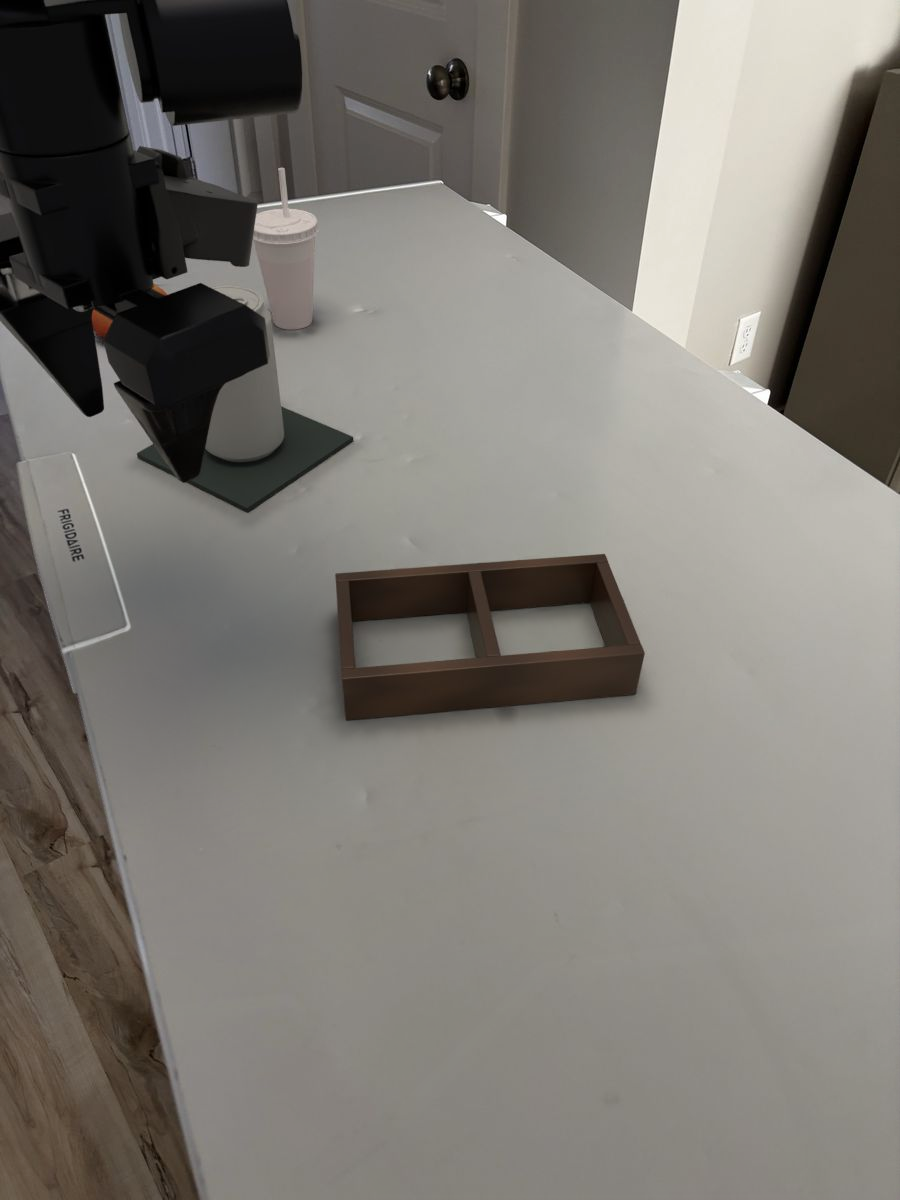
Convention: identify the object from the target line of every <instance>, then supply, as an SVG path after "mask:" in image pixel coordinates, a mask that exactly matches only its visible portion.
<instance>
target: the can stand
mask: <svg viewBox="0 0 900 1200" xmlns="http://www.w3.org/2000/svg"><path fill="white" fill-rule="evenodd" d="M334 576H335V577H334V578H335V591H336V604H337V605H336V607H337V608H336V609H337V623H338V640H339V657H340V670H341V671H340V672H341V673H340V674H341V685H342V696H343V706H344V707H343V708H344V718H345V720H346V721H351V720H352V721H353V720H364V719H376V718H386V717H387V718H388V717H398V716H408V715H409V716H410V715H420V714H421V715H422V714H430V713H431V714H432V713H441V712H451V711H452V712H453V711H463V710H476V709H486V708H497V707H507V706H508V707H509V706H519V705H521V706H522V705H530V704H540V703H541V704H542V703H552V702H553V703H554V702H563V701H564V702H565V701H573V700H585V699H596V698H607V697H618V696H620V697H621V696H631V695H636V694H637V691H638V687H639V682H640V677H641V673H642V669H643V664H644V659H645V655H646V653H645V650H644V647H643V645H642V642H641V640H640V638H639V635H638V633H637V630H636V628H635V626H634V623H633V620H632V617H631V615H630V612H629V610H628V607H627V605H626V603H625V600H624V598H623V596H622V592H621V591H620V588H619V585H618V583H617V580H616V578H615V575H614V573H613V570H612V568H611V566H610V563H609V560H608V557H607V555H606V554H605V553H598V554H597V553H596V554H585V555H569V556H556V557H555V556H554V557H544V558H543V557H542V558H528V559H515V560H502V561H489V562H488V561H487V562H475V563H474V562H473V563H472V562H471V563H460V564H447V565H446V564H445V565H433V566H419V567H418V566H417V567H406V568H405V567H404V568H392V569H391V568H390V569H378V570H366V571H364V570H363V571H350V572H339V573H337V572H336V573H335V575H334ZM578 604H590V607H591V609H592V612H593V615H594V617H595V621H596V623H597V625H598V629H599V631H600V634H601V637H602V639H603V643H604V645H605V646H601V647H588V648H578V649H577V648H575V649H567V650H566V649H565V650H553V651H542V652H529V653H517V654H516V653H515V654H505V655H504V654H503V655H501V651H500V646H499V643H498V639H497V638H498V637H497V635H496V630H495V625H494V622H493V621H494V620H493V617H492V614H491V613H492V612H491V611H501V610H512V609H513V610H514V609H526V608H538V607H551V606H552V607H553V606H565V605H578ZM464 613H466V616H467V621H468V625H469V630H470V635H471V640H472V645H473V651H474V655H475V657H470V658H469V657H468V658H459V659H447V660H433V661H422V662H421V661H420V662H411V663H410V662H409V663H399V664H387V665H376V666H373V665H372V666H362V667H356V655H355V642H354V632H353V622H360V621H374V620H375V621H376V620H386V619H399V618H410V617H411V618H412V617H424V616H438V615H450V614H464Z"/></svg>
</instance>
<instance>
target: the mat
mask: <svg viewBox="0 0 900 1200" xmlns="http://www.w3.org/2000/svg"><path fill="white" fill-rule="evenodd" d="M281 409H282V418H283V427H284V438H283V441H282V443H281V444H280V445H279V446H278V447H277V448H276V449H275V450H274V451H273V452H272V453H271V454H269V455H268V456H266V457H264V458H261V459H259V460H255V461H250V462H231V461H227V460H224V459H221V458H219V457H217V456H215V455H213V454H211V453H210V452H208V451H207V450H206V449H205V452H204V457H203V462H202V467H201V472H200V474H199V476H198V477H196V478H194V479H192V480H190V481H188V482H187V483H188V484H190V485H192V486H194V487H196V488H198V489H200V490H202V491H204V492H206V493H208V494H210V495H212V496H214V497H216V498H218V499H220V500H222V501H224V502H226V503H228V504H230V505H232V506H234V507H236V508H239V509H240V510H242V511H245V512H246V513H249V512H250V511H253V509H255V508H257V507H258V506H260V505H261V504H263V503H264V502H266V501H267V500H268V499H270V498H271V497H272V496H274V495H275V494H277V493H278V492H280V491H281V490H283V489H284V488H286V487H287V486H289V485H290V484H292V483H294V482H295V481H296V480H297V479H299V478H301V477H302V476H304V475H305V474H307V473H308V472H309V471H311V470H312V469H314V468H316V467H318V465H320V464H321V463H323V462H324V461H326V460H327V459H329V458H330V457H331V456H333V455H334V454H336V453H337V452H339V451H341V450H342V449H343V448H345V447H346V446H348V445H350V444H351V443H352V442H354V436H352V435H350V434H348V433H345V432H343V431H340V430H339V429H335V428H333V427H331V426H329V425H326V424H324V423H322V422H319V421H317V420H315V419H312V418H309V417H308V416H305V415H303V414H300V413H298V412H296V411H294V410H291V409H288V408H286V407H284V406H282V405H281ZM136 456H137V458H138V459H140V460H142V461H144V462H146V463H148V464H150V465H152V466H154V467H156V468H158V469H160V470H161V471H164V472H166V473H168V474H170V475H172V476H174V477H176V476H175V474H174V473H173V472H172V470H171V469H170V468H169V466H168V465H167V463H166V462H165V461H164V459H163V458H162V456H161V455H160V453H159V452H158V450H157V449H156V447H155V446H154V444H153V443H152V444H151V445H148V446H146V447H145V448H143V449H142V450H140V451H138V452H137V453H136Z"/></svg>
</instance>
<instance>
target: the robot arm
mask: <svg viewBox="0 0 900 1200" xmlns="http://www.w3.org/2000/svg"><path fill="white" fill-rule="evenodd" d="M290 11H291V10H290V6H289V2H288V0H0V196H2V197H4V198H6V199H7V203H8V205H9V209H10V212H7V213H3V214H0V323H1V324H2V325H3V326H4V327H5V328H6V329H7V330H8V331H9V332H10V334H11V335H12V336H13V337H14V338H15V339H16V340H17V342H19V344H20V345H22V347H24V349H25V350H26V351H27V352H28V353H29V355H31V357H32V358H33V359H34V360H35V361H36V363H37V364H38V365H39V366H41V368H42V369H43V370H44V372H46V373H47V374H48V376H49V377H50V378H51V379H52V380H53V381H54V383H56V385H57V386H58V387H59V389H60V390H61V391H62V392H63V393H64V394H65V395H66V396H67V398H68V399H69V400H70V401H71V402H72V403H73V404H74V405H75V406H76V407H77V408H78V410H79V411H80V412H81V413H82V415H84V417H85V416H86V417H87V418H92V417H95V416H96V415H99V414H101V413H103V412H104V410H105V402H104V390H103V382H102V376H101V368H100V361H99V355H98V349H97V343H96V342H97V341H96V337H95V335H96V334H95V332H94V329H93V322H92V313H93V310H95V311H97V312H99V313H101V314H102V315H104V316H106V317H107V318H109V319H111V320H113V321H112V323H111V325H110V327H109V329H108V331H107V333H106V335H105V337H104V338H103V339H102V342H103V347H104V350H105V353H106V358H107V361H108V363H109V365H110V367H111V368H112V370H113V372H114V374H115V375H116V377H117V378H118V379H119V380H118V381H115V382H113V387H114V388H115V390H116V391H117V393H118V394H119V396H120V397H121V399H122V400H123V402H124V403H125V405H126V406H127V408H128V409H129V411H130V413H132V415H133V417H134V418H135V420H136V421H137V423H139V425H140V427H141V428H142V430H143V431H144V432H145V434H146V436H147V437H148V438H149V440H150V442H151V443H152V444H154V446H155V447H156V449H157V450H158V452H159V453H160V455H161V456H162V458H163V459H164V461H165V462H166V463H167V465H168V466H169V468H170V469H171V470H172V472H173V473H174V474H175V476H174V477H176V479H177V480H178V481H179V482H181V483H183V484H185V483H188V481H190V480H192V479H194V478H196V477H198V476H199V474H200V472H201V467H202V462H203V457H204V452H205V447H206V442H207V436H208V431H209V426H210V422H211V417H212V412H213V409H214V406H215V403H216V400H217V397H218V394H219V392H220V390H221V388H222V387H223V386H224V384H225V383H227V382H230V381H232V380H234V379H236V378H239V377H241V376H243V375H245V374H246V373H248V372H250V371H253V370H255V369H257V368H259V367H262V366H264V365H266V364H268V362H269V357H270V352H269V345H268V337H267V330H266V322H265V318H264V317H263V316H261V315H260V314H258V313H257V312H255V311H254V310H252V309H251V308H249V307H248V306H246V305H244V304H242V303H240V302H238V301H236V300H234V299H232V298H230V297H228V296H226V295H224V294H222V293H220V292H218V291H216V290H214V289H212V288H210V287H211V286H208V285H206V284H204V283H202V282H199V283H196V284H193V285H191V286H188V287H185V288H182V289H180V290H177V291H174V292H171V293H167V295H164V294H162V293H160V292H158V291H156V290H154V289H152V288H153V287H154V284H155V282H154V280H156V279H159V278H162V279H164V280H170V279H173V278H175V277H178V276H181V275H185V274H187V273H188V272H189V271H188V267H187V261H186V259H190V260H191V259H192V260H199V261H200V260H202V261H212V262H213V261H214V262H225V263H226V262H227V263H230V264H231V265H232V266H234V267H237V268H246V267H249V266H250V262H251V255H252V249H253V247H252V246H253V242H254V240H253V234H254V227H255V220H256V214H258V213H257V212H258V205H259V203H258V201H256V200H254V199H253V198H249V197H247V196H244V195H242V194H240V193H237V192H236V191H235V192H234V191H232V190H230V189H227V188H225V187H222V186H219V185H217V184H214V183H211V182H206V181H204V180H201V179H198V178H196V177H191V176H190V177H188V173H187V169H186V165H185V162H184V160H183V159H182V157H181V156H179V155H176V154H173V153H171V152H170V151H169V152H168V151H166V150H164V149H160V148H154V147H148V146H142V145H139V146H138V148H137V150H135V149H134V146H133V141H132V136H131V131H130V127H129V123H128V118H127V114H126V108H125V104H124V100H123V99H124V98H123V95H122V90H121V89H122V88H121V85H120V84H121V83H120V80H119V74H118V70H117V66H116V61H115V56H114V51H113V46H112V41H111V37H110V32H109V27H108V22H107V19H106V16H107V15H118V19H119V26H120V31H121V37H122V42H123V46H124V52H125V57H126V60H127V63H128V64H127V65H128V68H129V73H130V77H131V80H132V84H133V86H134V91H135V93H136V96H137V98H138V101H139V102H140V103H141V104H144V103H145V104H146V103H153V102H155V100H157V101H158V104H159V108H160V111H161V113H164V114H165V116H166V119H167V121H168V123H169V125H170V126H172V127H176V126H177V127H178V126H185V125H194V124H204V123H215V122H222V121H232V120H239V119H240V120H241V119H250V118H259V117H260V118H261V117H269V116H279V115H288V114H295V113H297V112H298V111H299V108H300V105H301V102H302V93H303V62H302V61H303V60H302V51H301V49H302V48H301V42H300V41H301V40H300V37H299V35H298V33H297V32H295V31H294V27H293V26H294V25H293V21H292V15H291V12H290Z"/></svg>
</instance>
